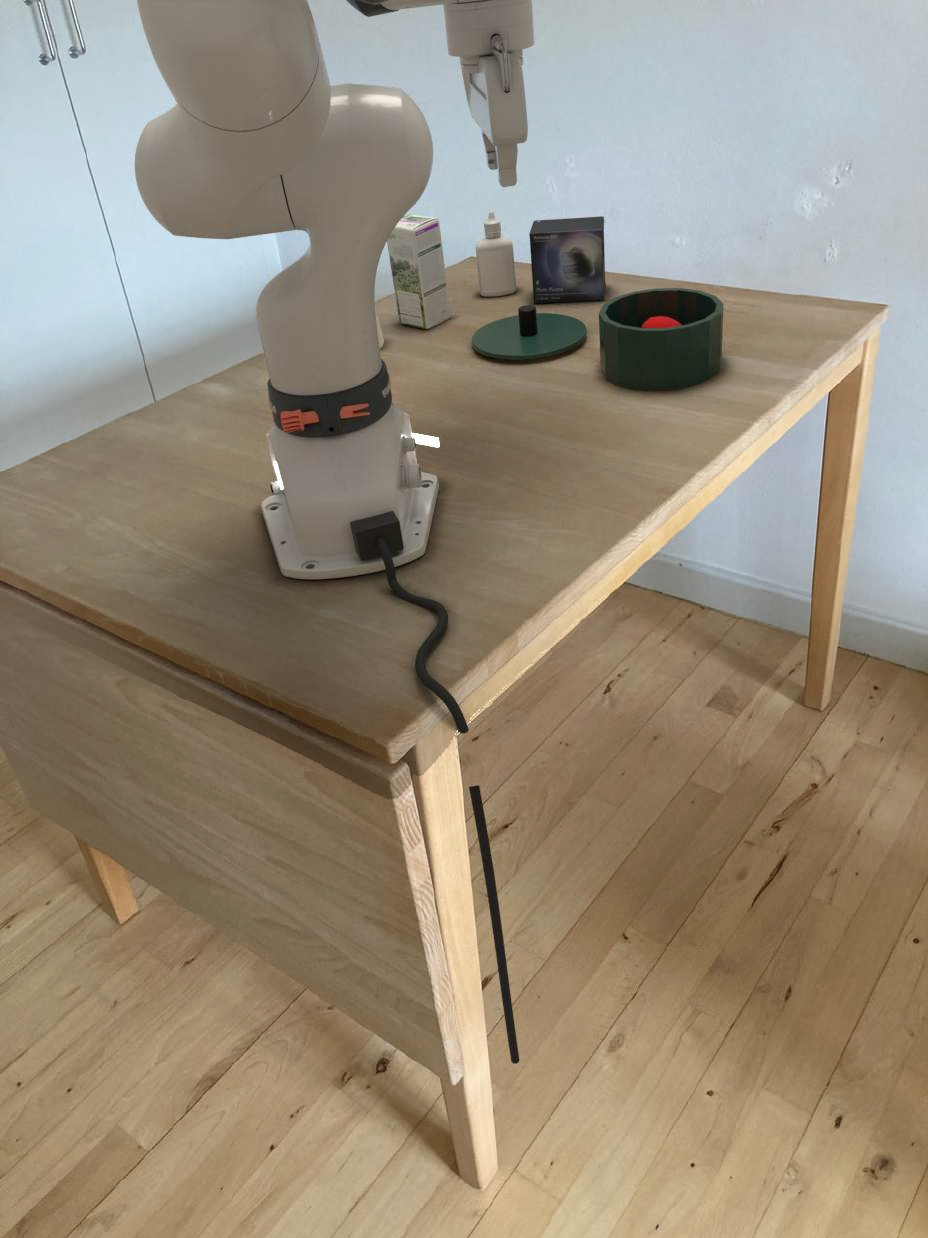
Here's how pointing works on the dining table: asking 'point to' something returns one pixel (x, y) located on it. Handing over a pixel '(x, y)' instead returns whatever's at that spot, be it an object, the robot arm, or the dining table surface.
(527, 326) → the lid
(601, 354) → the pot
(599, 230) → the small box
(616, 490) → the dining table surface
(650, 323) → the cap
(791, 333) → the dining table surface
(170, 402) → the dining table surface
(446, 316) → the syrup box
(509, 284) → the eye dropper bottle
